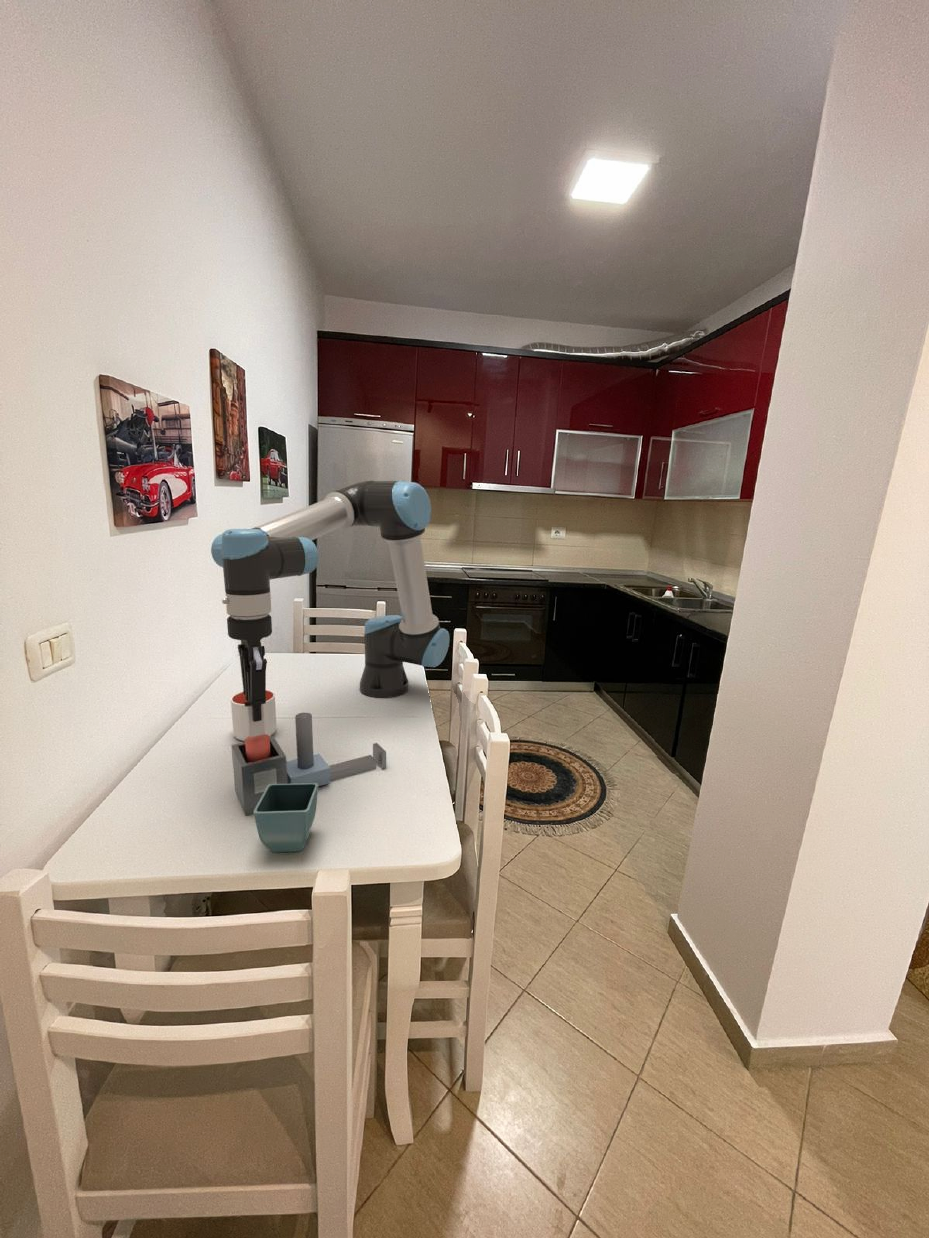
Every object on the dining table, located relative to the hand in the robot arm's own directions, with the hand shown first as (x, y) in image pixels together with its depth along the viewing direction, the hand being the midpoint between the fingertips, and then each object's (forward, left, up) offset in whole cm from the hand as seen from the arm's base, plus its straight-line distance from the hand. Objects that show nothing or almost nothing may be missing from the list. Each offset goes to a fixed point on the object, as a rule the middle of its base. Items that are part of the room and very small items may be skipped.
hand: (256, 734), depth 99 cm
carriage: (-9, 0, -14) cm, 16 cm away
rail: (-14, 0, -14) cm, 20 cm away
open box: (0, 0, -14) cm, 14 cm away
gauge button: (0, 0, -6) cm, 6 cm away
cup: (-5, -29, -14) cm, 33 cm away
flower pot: (-1, +17, -14) cm, 22 cm away
